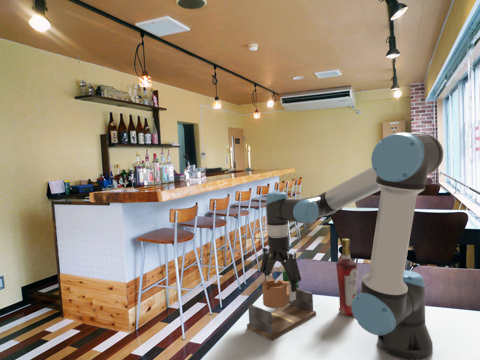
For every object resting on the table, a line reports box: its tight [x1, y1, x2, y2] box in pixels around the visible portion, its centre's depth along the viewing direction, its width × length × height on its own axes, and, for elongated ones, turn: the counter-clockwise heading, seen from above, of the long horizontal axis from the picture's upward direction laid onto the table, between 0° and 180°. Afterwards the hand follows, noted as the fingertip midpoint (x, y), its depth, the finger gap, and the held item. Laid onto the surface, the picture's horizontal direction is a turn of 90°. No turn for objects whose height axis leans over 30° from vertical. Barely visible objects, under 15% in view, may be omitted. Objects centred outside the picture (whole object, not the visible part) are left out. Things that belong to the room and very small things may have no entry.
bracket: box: [261, 278, 296, 309], centre depth 125 cm, size 18×8×7 cm, turn 152°
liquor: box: [335, 238, 358, 317], centre depth 129 cm, size 7×7×28 cm
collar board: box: [246, 288, 317, 341], centre depth 126 cm, size 12×24×8 cm, turn 132°
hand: (280, 296), depth 126 cm, fingers closed on bracket, 10 cm apart
